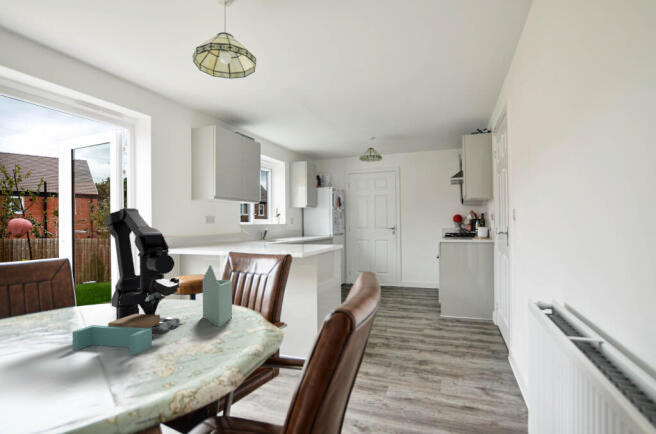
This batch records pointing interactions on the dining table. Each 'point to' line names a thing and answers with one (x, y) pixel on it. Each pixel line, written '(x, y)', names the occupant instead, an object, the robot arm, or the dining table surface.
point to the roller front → (161, 327)
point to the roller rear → (171, 321)
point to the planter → (216, 299)
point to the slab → (137, 321)
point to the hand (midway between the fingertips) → (150, 320)
